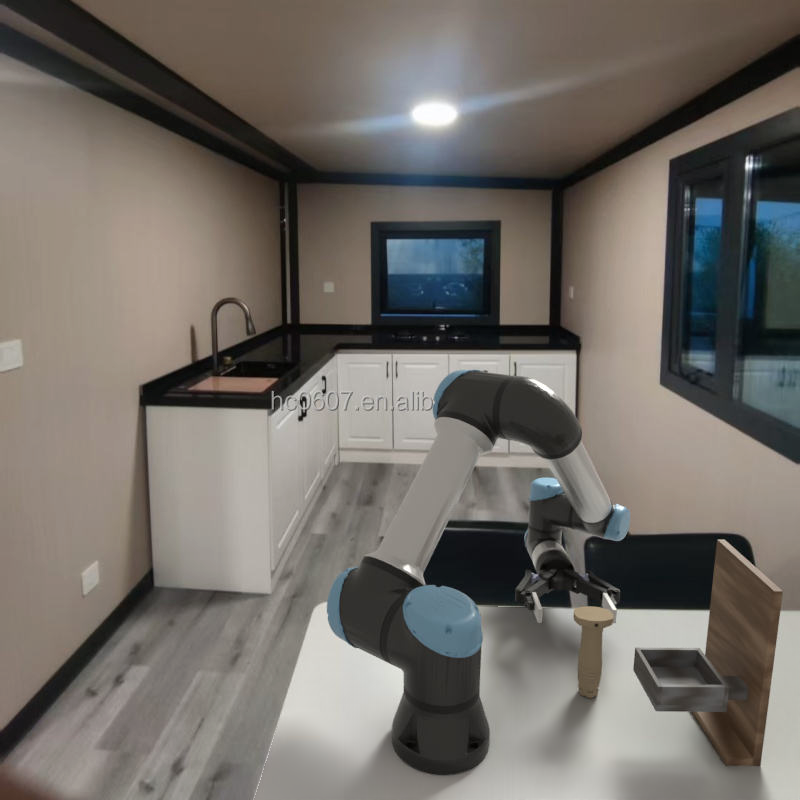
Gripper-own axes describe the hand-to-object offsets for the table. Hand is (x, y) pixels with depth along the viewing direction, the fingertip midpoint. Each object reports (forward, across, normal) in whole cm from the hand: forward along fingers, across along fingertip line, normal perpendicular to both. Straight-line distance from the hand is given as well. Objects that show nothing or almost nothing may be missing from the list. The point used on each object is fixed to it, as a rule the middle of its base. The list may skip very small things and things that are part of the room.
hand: (577, 616), depth 127 cm
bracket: (+18, -13, -9) cm, 24 cm away
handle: (+10, 0, -9) cm, 13 cm away
